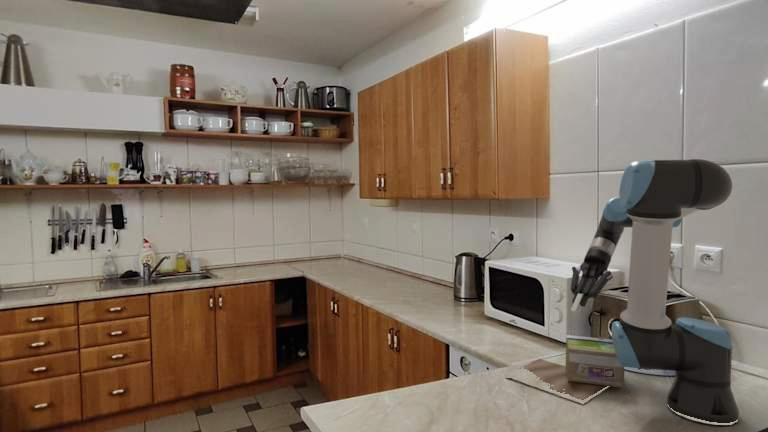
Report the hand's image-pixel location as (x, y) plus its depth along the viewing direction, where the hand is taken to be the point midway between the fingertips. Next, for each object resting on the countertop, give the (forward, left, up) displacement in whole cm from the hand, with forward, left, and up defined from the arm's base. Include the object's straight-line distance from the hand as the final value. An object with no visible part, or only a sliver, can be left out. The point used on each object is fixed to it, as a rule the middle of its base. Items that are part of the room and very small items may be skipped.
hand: (574, 313), depth 143 cm
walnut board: (0, +9, -19) cm, 21 cm away
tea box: (-3, -6, -13) cm, 14 cm away
